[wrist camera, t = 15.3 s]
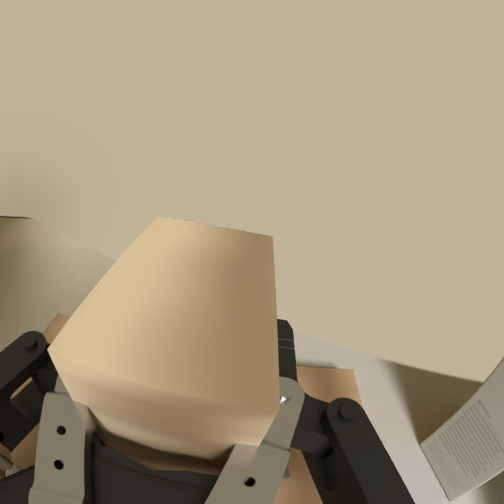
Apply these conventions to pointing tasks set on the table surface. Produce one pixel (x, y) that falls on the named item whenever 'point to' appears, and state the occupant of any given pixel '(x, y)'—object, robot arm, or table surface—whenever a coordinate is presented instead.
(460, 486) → the small box
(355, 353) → the table surface
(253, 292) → the block
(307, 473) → the board
